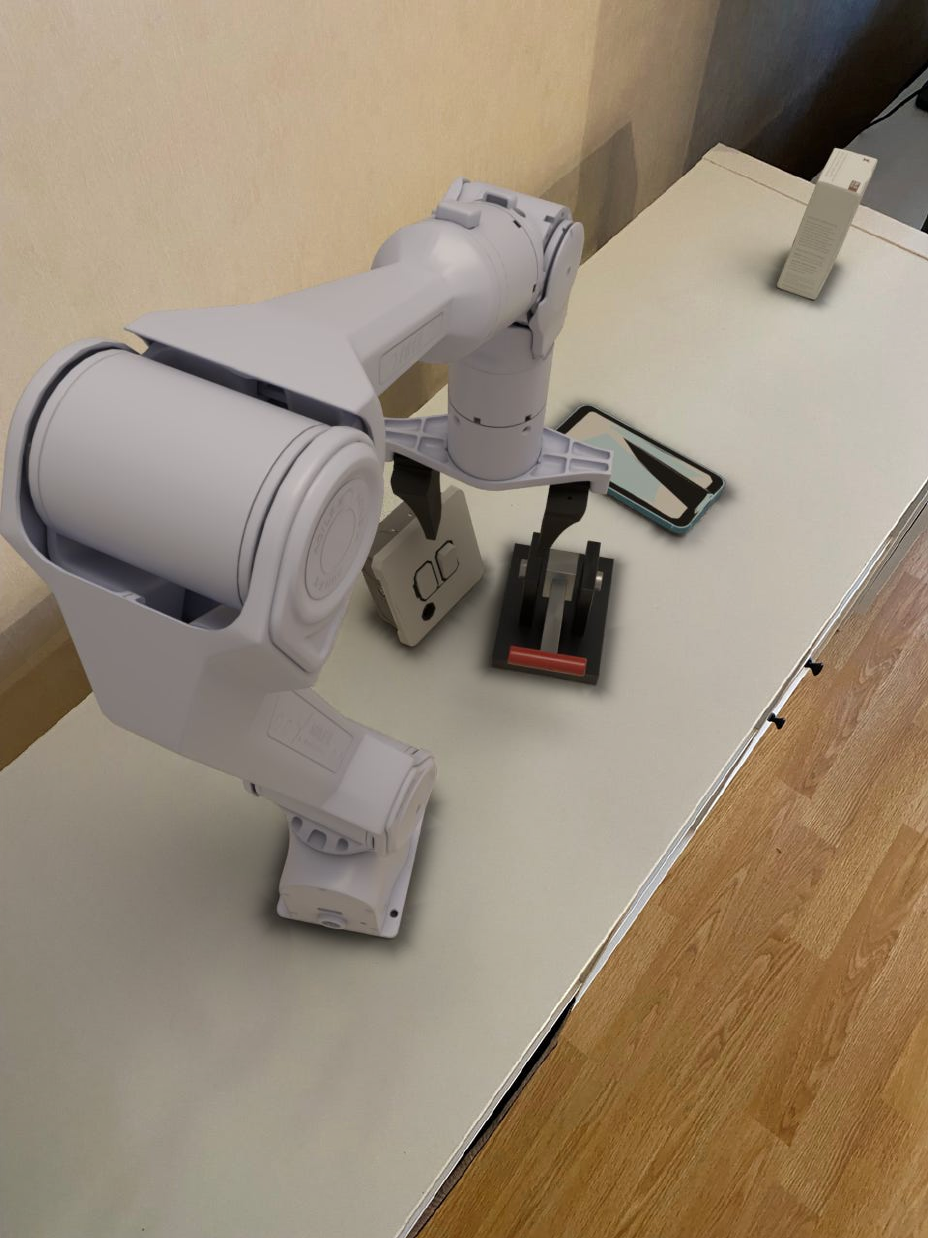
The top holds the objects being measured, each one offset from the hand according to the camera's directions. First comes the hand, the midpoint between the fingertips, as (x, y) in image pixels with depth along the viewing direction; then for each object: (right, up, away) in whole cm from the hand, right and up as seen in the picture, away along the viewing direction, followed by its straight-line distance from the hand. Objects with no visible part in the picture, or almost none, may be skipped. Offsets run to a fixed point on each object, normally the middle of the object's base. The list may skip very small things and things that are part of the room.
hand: (488, 537), depth 66 cm
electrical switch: (-5, -4, +10) cm, 12 cm away
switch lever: (+5, -6, +1) cm, 8 cm away
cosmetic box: (+33, +29, +31) cm, 53 cm away
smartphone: (+13, +7, +17) cm, 22 cm away
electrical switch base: (+5, -5, +9) cm, 12 cm away
